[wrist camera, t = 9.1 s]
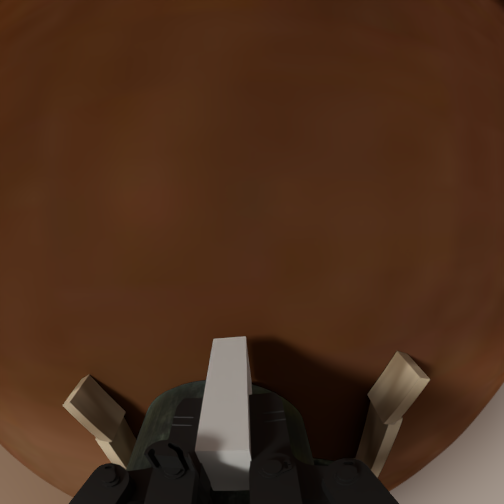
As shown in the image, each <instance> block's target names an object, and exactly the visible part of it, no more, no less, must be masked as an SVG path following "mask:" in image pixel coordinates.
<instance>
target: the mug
mask: <svg viewBox="0 0 504 504" xmlns="http://www.w3.org/2000/svg"><path fill="white" fill-rule="evenodd" d="M205 385H206V380H203V381H196V382H191V383H187V384H183V385H180V386H178V387H175V388H173V389H170V390H168V391H166V392H164V393H163V394H161V395H160V396H158V397H157V398H156V399H155V400H154V401H153V402H152V403H151V405H150V407H149V408H148V411H147V413H146V416H145V418H144V421H143V424H142V427H141V429H140V432H139V435H138V437H137V440H136V443H135V446H134V448H133V451H132V454H131V457H130V460H129V463H128V465H127V468H126V470H127V471H132V470H140V469H146V468H150V467H152V466H151V464H150V463H149V461H148V460H147V458H146V457H145V455H144V452H145V450H146V449H147V447H149V446H150V445H151V444H153V443H155V442H157V441H160V440H168V438H169V434H170V430H171V426H172V422H173V419H174V415H175V411H176V407H177V406H178V404H179V403H180V402H181V401H182V400H183V399H184V398H203V397H204V391H205ZM262 393H272V391H270V390H267V389H265V388H262V387H259V386H256V385H252V394H262ZM278 396H279V395H278ZM279 397H280V398H281V400H282V402H283V408H284V413H285V419H286V424H287V430H288V435H289V441H290V446H291V450H292V453H293V455H294V456H295V457H296V458H297V459H298V460H299V461H301V462H303V463H306V464H310V465H319V466H328V465H329V464H331V463H333V462H334V461H331V460H325V459H317V458H313V457H312V453H311V449H310V445H309V441H308V437H307V433H306V429H305V425H304V422H303V418H302V416H301V415H300V413H299V411H298V410H297V409H296V408H295V407H294V406H293V405H292V404H291V403H290V402H288V401H287V400H286V399H284V398H283V397H281V396H279ZM210 497H211V499H212V503H213V504H250V491H249V490H238V491H213V489H212V487H211V488H210Z"/></svg>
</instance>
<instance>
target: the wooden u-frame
mask: <svg viewBox="0 0 504 504" xmlns="http://www.w3.org/2000/svg"><path fill="white" fill-rule="evenodd" d="M429 381H430V379H429V378H428V376H427V375H426V374H425V373H424V372H423V371H422V370H421V369H420V367H419V366H418V365H417V364H416V363H415V362H414V361H413V360H412V359H411V357H410V356H409V355H408V354H406V353H403V352H399V351H397V352H396V353H395V355H394V356H393V358H392V360H391V361H390V363H389V364H388V366H387V367H386V369H385V370H384V372H383V373H382V374H381V376H380V377H379V379H378V380H377V382H376V383H375V384H374V386H373V387H372V388H371V390H370V391H369V393H368V394H367V395H368V397H369V399H370V406H369V410H368V414H367V418H366V422H365V426H364V430H363V434H362V437H361V441H360V444H359V448H358V451H357V454H356V457H355V458H354V459H358V460H361V461H362V462H363V463H365V464H366V465H367V466H368V467H369V468H370V470H371V471H372V472H373V473H374V474H375V476H376V477H377V478H378V476H379V474H380V472H381V470H382V468H383V465H384V463H385V461H386V459H387V457H388V455H389V452H390V450H391V448H392V445H393V443H394V441H395V438H396V436H397V433H398V431H399V428H400V425H401V423H402V420H403V418H402V416H403V414H404V413H405V412H406V411H407V410H408V408H409V407H410V406H411V405H412V403H413V402H414V401H415V400H416V398H417V397H418V396H419V394H420V393H421V392H422V390H423V389H424V388H425V386H426V385H427V383H428V382H429ZM63 406H64V407H65V408H66V409H67V410H68V412H69V413H70V414H72V415H73V416H74V417H75V418H76V419H77V420H78V421H79V422H80V423H81V424H82V425H83V426H84V427H85V428H86V429H87V430H88V431H90V432H91V433H92V434H93V435H94V436H95V437H96V441H97V442H98V444H99V445H100V447H101V448H102V450H103V451H104V453H105V454H106V455H107V457H108V458H109V459H110V461H111V462H112V463H114V464H118V465H121V466H122V467H124V468H125V469H126V468H127V465H128V463H129V460H130V457H131V454H132V451H133V448H134V446H135V443H136V438H135V437H134V435H133V433H132V431H131V429H130V427H129V426H128V424H127V422H126V420H125V418H124V415H125V413H126V411H125V410H123V409H122V408H121V407H120V406H119V405H118V404H117V403H116V402H115V401H114V400H113V399H112V398H111V397H110V396H109V395H108V394H107V393H106V392H105V391H104V390H103V389H102V388H101V387H100V386H99V385H98V383H97V382H96V381H95V380H94V379H93V378H92V377H91V376H90V375H88V376H86V377H84V378H82V379H81V381H80V382H79V383H78V385H77V386H76V387H75V389H74V390H73V392H72V393H71V394H70V396H69V397H68V399H67V400H66V401H65V403H64V404H63Z"/></svg>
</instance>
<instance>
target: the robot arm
mask: <svg viewBox="0 0 504 504" xmlns="http://www.w3.org/2000/svg"><path fill="white" fill-rule="evenodd" d="M144 455H145V457H146V458H147V460H148V461H149V463H150V464H151V466H152V467H150V468H146V469H140V470H132V471H127V470H126V469H125V468H124V467H122V466H121V465H118V464H114V463H109V464H104V465H101V466H99V467H98V468H97V469H96V470H95V471H94V472H93V473H92V474H91V476H90V477H89V478H88V480H87V481H86V482H85V483H84V485H83V486H82V487H81V489H80V490H79V491H78V492H77V494H76V495H75V496H74V498H73V499H72V500H71V501H70V503H69V504H213V503H212V499H211V497H210V488H211V487H212V489H213V491H238V490H249V491H250V504H399V503H398V502H397V501H396V500H395V499H394V497H393V496H392V495H391V494H390V492H389V491H388V490H387V489H386V488H385V487H384V485H383V484H382V483H381V482H380V481H379V479H378V478H377V477H376V476H375V474H374V473H373V472H372V471H371V470H370V468H369V467H368V466H367V465H366V464H365V463H363V462H362V461H361V460H358V459H354V458H343V459H339V460H336V461H334V462H333V463H331V464H329V465H328V466H319V465H310V464H306V463H303V462H301V461H299V460H298V459H297V458H296V457H295V456H294V455H293V453H292V450H291V446H290V441H289V435H288V430H287V424H286V419H285V413H284V408H283V402H282V400H281V398H280V397H279V396H278V395H277V394H276V393H275V392H272V393H262V394H252V382H251V374H250V366H249V358H248V350H247V342H246V336H244V337H232V338H218V339H213V345H212V350H211V356H210V362H209V367H208V373H207V379H206V385H205V391H204V397H203V398H184V399H183V400H182V401H181V402H180V403H179V404H178V406H177V407H176V411H175V415H174V419H173V422H172V426H171V430H170V434H169V438H168V440H160V441H157V442H155V443H153V444H151V445H150V446H149V447H147V449H146V450H145V452H144Z"/></svg>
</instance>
